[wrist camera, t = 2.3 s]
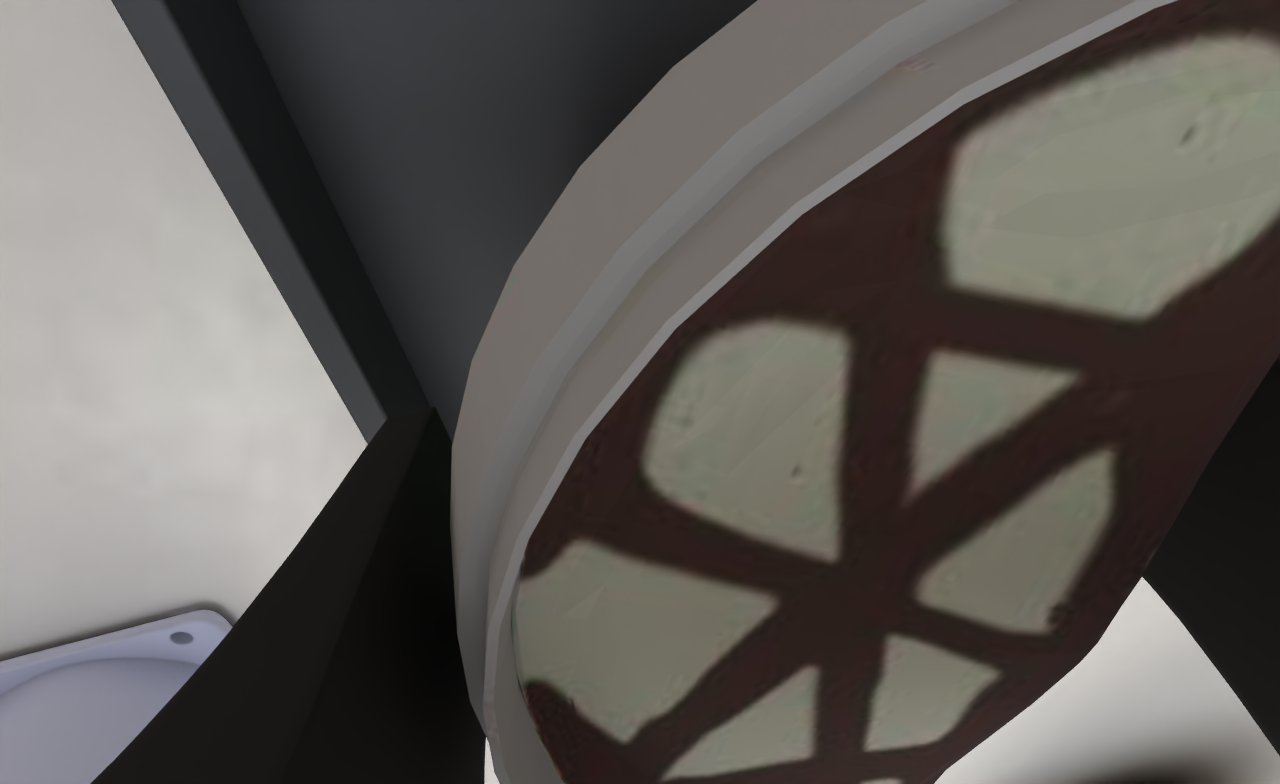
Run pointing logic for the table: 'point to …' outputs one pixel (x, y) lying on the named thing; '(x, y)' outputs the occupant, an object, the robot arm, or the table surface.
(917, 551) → the food container
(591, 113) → the dark gray tray
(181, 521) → the table surface
